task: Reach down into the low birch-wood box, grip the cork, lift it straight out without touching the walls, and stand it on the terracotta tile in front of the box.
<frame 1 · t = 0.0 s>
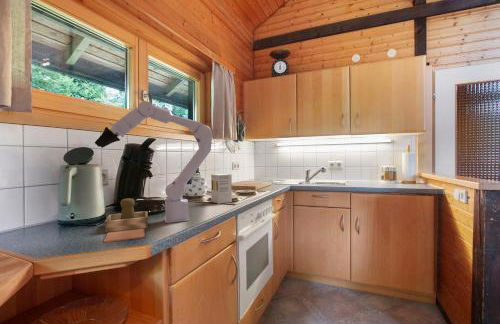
hand: (98, 145, 97), 32 cm above the counter, tool tilted 50°, fingers open, 7 cm apart
birch box: (128, 225, 101), on the counter
cork: (128, 226, 101), resting in birch box
supplement box: (221, 202, 152), on the counter
terracotta tile: (125, 235, 88), on the counter
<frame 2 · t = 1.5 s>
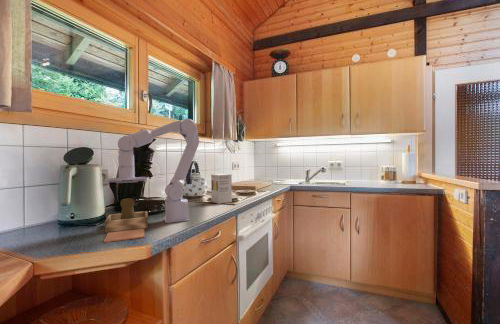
hand: (127, 200, 100), 10 cm above the counter, tool pointing down, fingers open, 7 cm apart
nothing on the counter moved.
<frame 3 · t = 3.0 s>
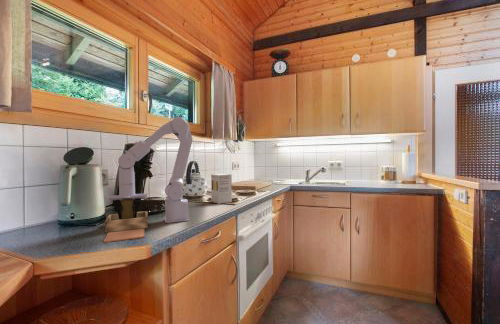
hand: (127, 217, 101), 3 cm above the counter, tool pointing down, fingers closed on cork, 5 cm apart
cork: (128, 226, 101), resting in birch box, touching gripper
everything else where it was.
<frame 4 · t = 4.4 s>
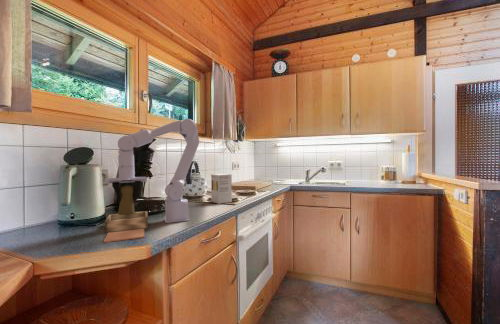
hand: (127, 200, 100), 10 cm above the counter, tool pointing down, fingers closed on cork, 5 cm apart
cork: (126, 213, 100), point 5 cm above the counter, touching gripper
everything else where it was.
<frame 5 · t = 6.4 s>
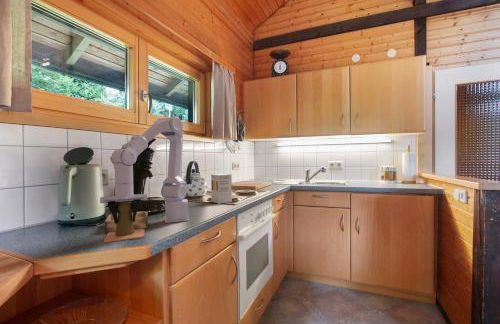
hand: (125, 222, 88), 5 cm above the counter, tool pointing down, fingers closed on cork, 5 cm apart
cork: (124, 233, 89), resting on terracotta tile, touching gripper
everything else where it was.
when the fingers open (5 cm above the counter, at t = 7.3 s): cork stays where it is, resting on terracotta tile.
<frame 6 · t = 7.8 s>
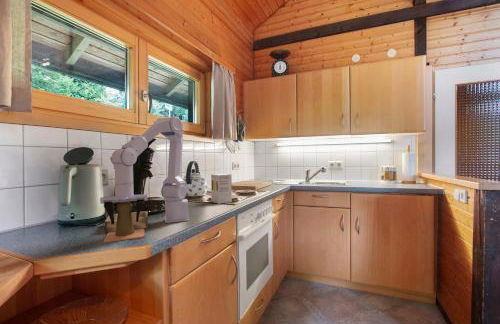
hand: (125, 222, 88), 5 cm above the counter, tool pointing down, fingers open, 7 cm apart
cork: (124, 234, 89), resting on terracotta tile
everything else where it was.
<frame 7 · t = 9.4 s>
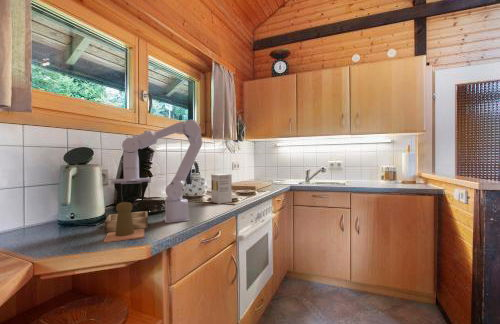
hand: (132, 201, 102), 10 cm above the counter, tool pointing down, fingers open, 7 cm apart
nothing on the counter moved.
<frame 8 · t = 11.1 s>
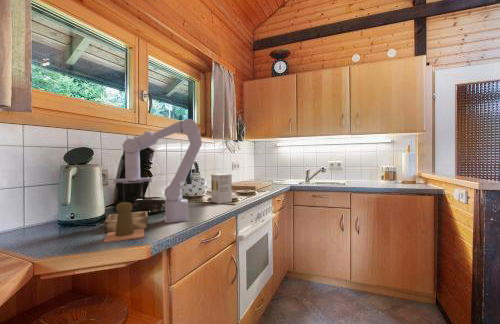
hand: (133, 200, 106), 9 cm above the counter, tool pointing down, fingers open, 7 cm apart
nothing on the counter moved.
at the end: cork inside the target area (1.3 cm from its centre), resting on terracotta tile; cork tilted 0°; the gripper is holding nothing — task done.
